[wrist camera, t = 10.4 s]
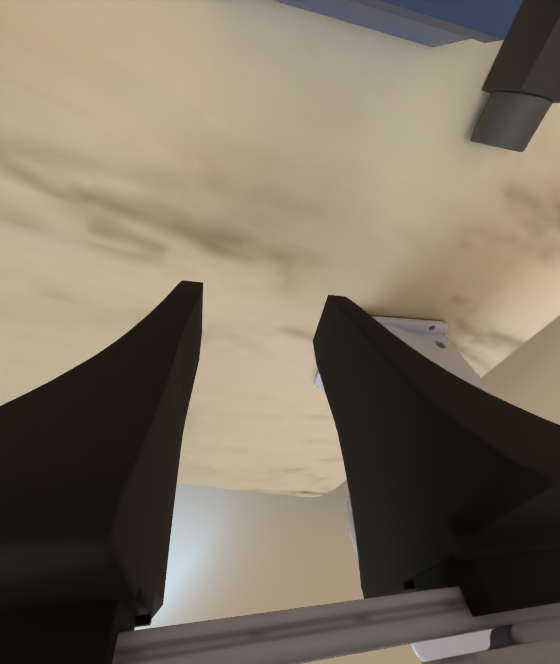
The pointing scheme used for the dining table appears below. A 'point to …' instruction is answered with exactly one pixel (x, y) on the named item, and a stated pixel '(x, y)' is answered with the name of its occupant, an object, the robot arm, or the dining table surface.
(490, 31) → the blue box
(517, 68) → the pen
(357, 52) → the dining table surface
